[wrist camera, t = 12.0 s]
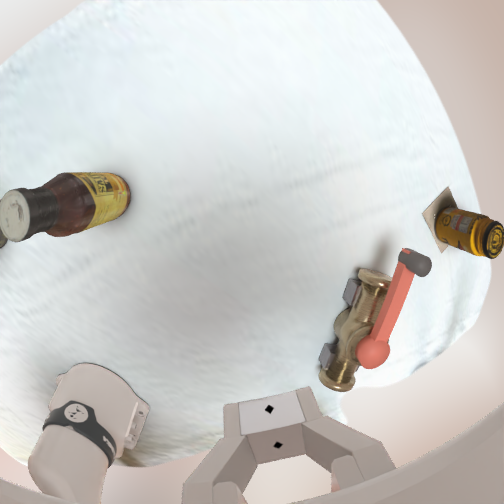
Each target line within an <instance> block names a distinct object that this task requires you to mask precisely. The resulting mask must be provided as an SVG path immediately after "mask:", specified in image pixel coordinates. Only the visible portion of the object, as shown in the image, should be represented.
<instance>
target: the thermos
mask: <svg viewBox="0 0 504 504" xmlns="http://www.w3.org/2000/svg"><path fill="white" fill-rule="evenodd" d="M0 202H1V200H0ZM7 240H8V239H7V238H6V236H5V235H4V234H3V232H2V230H1V227H0V248H2V247H3V246H4V245H5V244H6V242H7Z"/></svg>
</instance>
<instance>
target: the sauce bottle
mask: <svg viewBox="0 0 504 504" xmlns="http://www.w3.org/2000/svg"><path fill="white" fill-rule="evenodd" d="M129 202H130V191H129V187H128V185H127V183H126V182H125V181H124V180H123V179H122V178H121V177H119V176H117V175H114V174H112V173H91V172H90V173H87V172H79V173H61V174H58V175H57V176H56V177H54V178H53V179H51V180H50V181H49V182H47V183H46V184H44V185H43V186H41V187H38V188H36V189H29V190H28V189H26V188H18V189H13V190H10V191H8V192H7V193H6V194H5V195H4V196H3V198H2V200H1V202H0V227H1V230H2V232H3V234H4V235H5V236H6V238H7V239H9V240H10V241H13V242H20V241H23V240H26V239H28V238H30V237H31V236H33V234H36V233H39V232H46V233H47V234H49V235H52V236H54V237H65V236H69V235H71V234H74V233H79V232H82V231H84V230H87V229H90V228H92V227H95V226H98V225H101V224H103V223H106V222H109V221H112V220H114V219H116V218H117V217H119V216H121V215H122V214H123V213H124V211H125V210H126V208H127V207H128V204H129Z"/></svg>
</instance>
